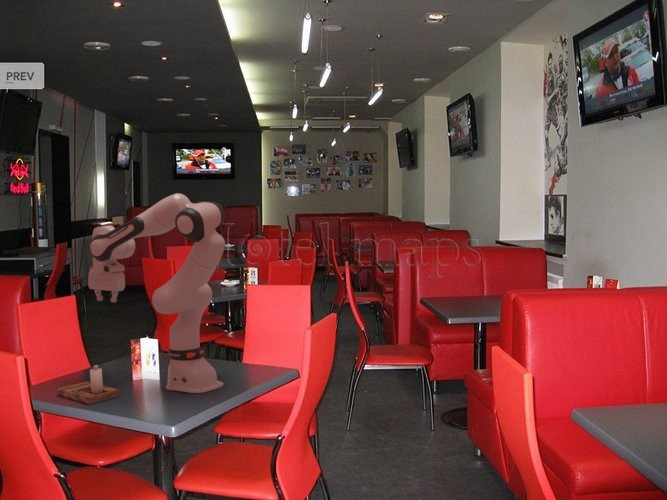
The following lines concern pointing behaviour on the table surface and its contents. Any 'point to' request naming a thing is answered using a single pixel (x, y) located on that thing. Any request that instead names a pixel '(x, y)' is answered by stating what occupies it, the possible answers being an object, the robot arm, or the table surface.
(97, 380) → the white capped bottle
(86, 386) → the board
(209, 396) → the table surface
